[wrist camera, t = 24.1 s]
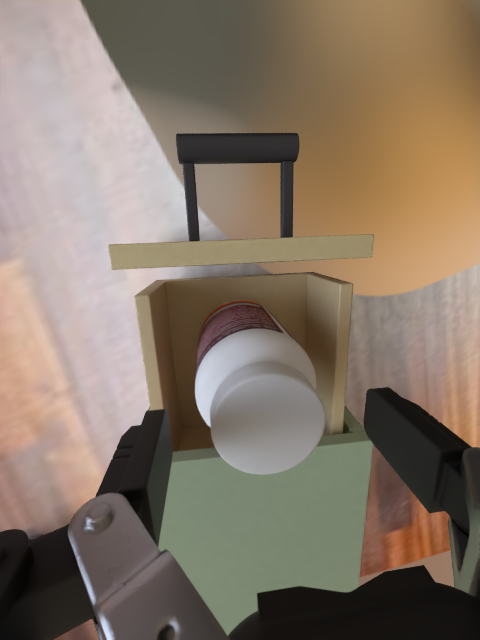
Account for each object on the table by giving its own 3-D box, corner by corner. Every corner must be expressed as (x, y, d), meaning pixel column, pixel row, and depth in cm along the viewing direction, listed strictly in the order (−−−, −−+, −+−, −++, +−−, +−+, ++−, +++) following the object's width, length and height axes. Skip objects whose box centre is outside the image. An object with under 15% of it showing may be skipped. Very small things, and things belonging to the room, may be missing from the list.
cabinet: (155, 389, 24) (126, 467, 16) (320, 375, 26) (374, 440, 17) (175, 534, 29) (160, 655, 20) (314, 516, 30) (354, 622, 22)
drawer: (130, 158, 19) (86, 112, 12) (326, 156, 20) (384, 113, 13) (165, 429, 24) (148, 498, 18) (316, 414, 26) (353, 473, 19)
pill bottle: (184, 352, 21) (160, 459, 11) (223, 282, 20) (240, 325, 10) (253, 385, 23) (290, 508, 12) (293, 321, 22) (373, 396, 11)
